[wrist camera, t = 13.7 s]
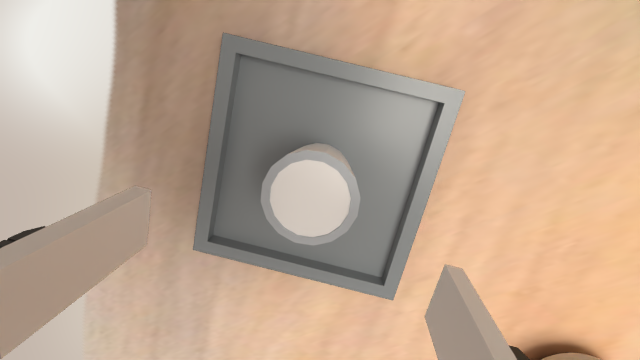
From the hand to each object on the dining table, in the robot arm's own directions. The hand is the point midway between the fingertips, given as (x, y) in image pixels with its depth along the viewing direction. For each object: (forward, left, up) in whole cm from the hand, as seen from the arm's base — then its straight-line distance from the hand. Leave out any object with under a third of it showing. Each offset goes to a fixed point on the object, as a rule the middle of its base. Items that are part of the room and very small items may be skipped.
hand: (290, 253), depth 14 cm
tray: (0, 0, -16) cm, 16 cm away
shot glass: (0, 0, -15) cm, 15 cm away
